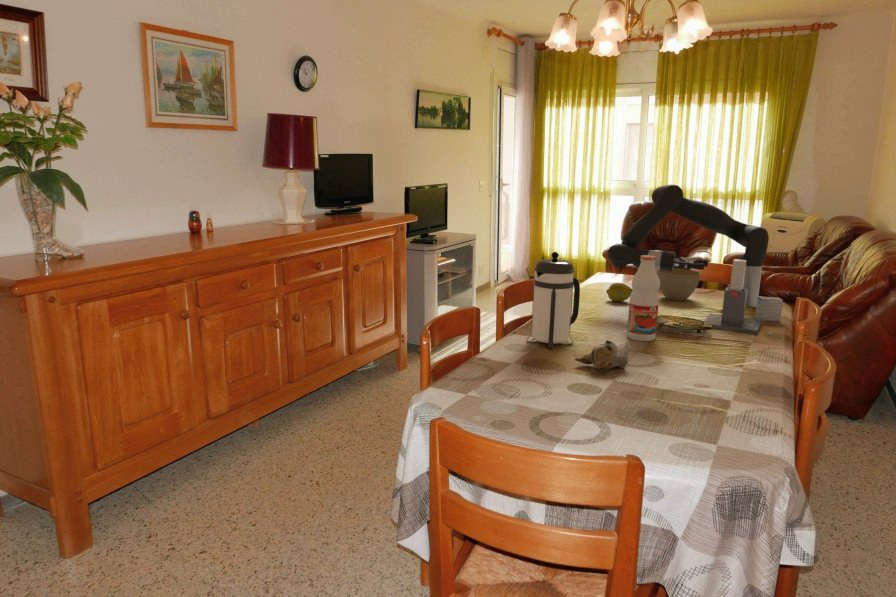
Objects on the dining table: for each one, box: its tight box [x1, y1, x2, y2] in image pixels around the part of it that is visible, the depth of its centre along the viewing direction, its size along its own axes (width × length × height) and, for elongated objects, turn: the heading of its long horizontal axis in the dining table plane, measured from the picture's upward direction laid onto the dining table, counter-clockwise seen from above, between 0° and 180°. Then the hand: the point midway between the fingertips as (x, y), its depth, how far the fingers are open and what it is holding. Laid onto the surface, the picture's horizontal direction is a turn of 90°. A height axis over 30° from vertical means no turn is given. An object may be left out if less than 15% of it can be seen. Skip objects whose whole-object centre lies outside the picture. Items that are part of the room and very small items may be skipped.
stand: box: [703, 286, 762, 335], centre depth 238 cm, size 18×18×14 cm
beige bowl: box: [656, 268, 702, 302], centre depth 282 cm, size 18×18×12 cm
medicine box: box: [754, 296, 784, 322], centre depth 248 cm, size 8×4×9 cm, turn 84°
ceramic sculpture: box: [574, 340, 630, 373], centre depth 187 cm, size 11×9×15 cm
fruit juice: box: [626, 255, 660, 342], centre depth 217 cm, size 9×9×28 cm
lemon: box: [605, 282, 632, 303], centre depth 274 cm, size 11×8×8 cm
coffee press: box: [526, 251, 581, 350], centre depth 209 cm, size 17×16×30 cm
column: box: [729, 258, 746, 292], centre depth 237 cm, size 4×4×22 cm
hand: (706, 265), depth 241 cm, fingers open, 8 cm apart
